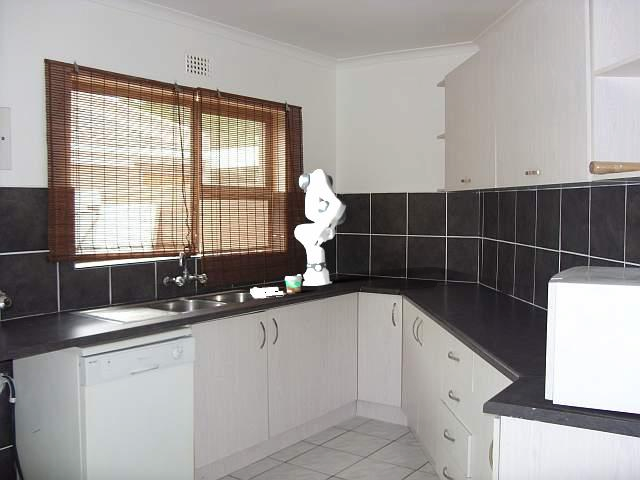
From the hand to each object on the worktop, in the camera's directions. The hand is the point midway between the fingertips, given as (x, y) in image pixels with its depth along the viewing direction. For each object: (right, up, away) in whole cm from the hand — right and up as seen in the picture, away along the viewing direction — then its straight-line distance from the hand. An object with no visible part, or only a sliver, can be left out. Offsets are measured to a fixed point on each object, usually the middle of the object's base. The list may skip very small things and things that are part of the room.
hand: (315, 244), depth 374 cm
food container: (-11, -28, +4) cm, 31 cm away
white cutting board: (-28, -29, +1) cm, 40 cm away
